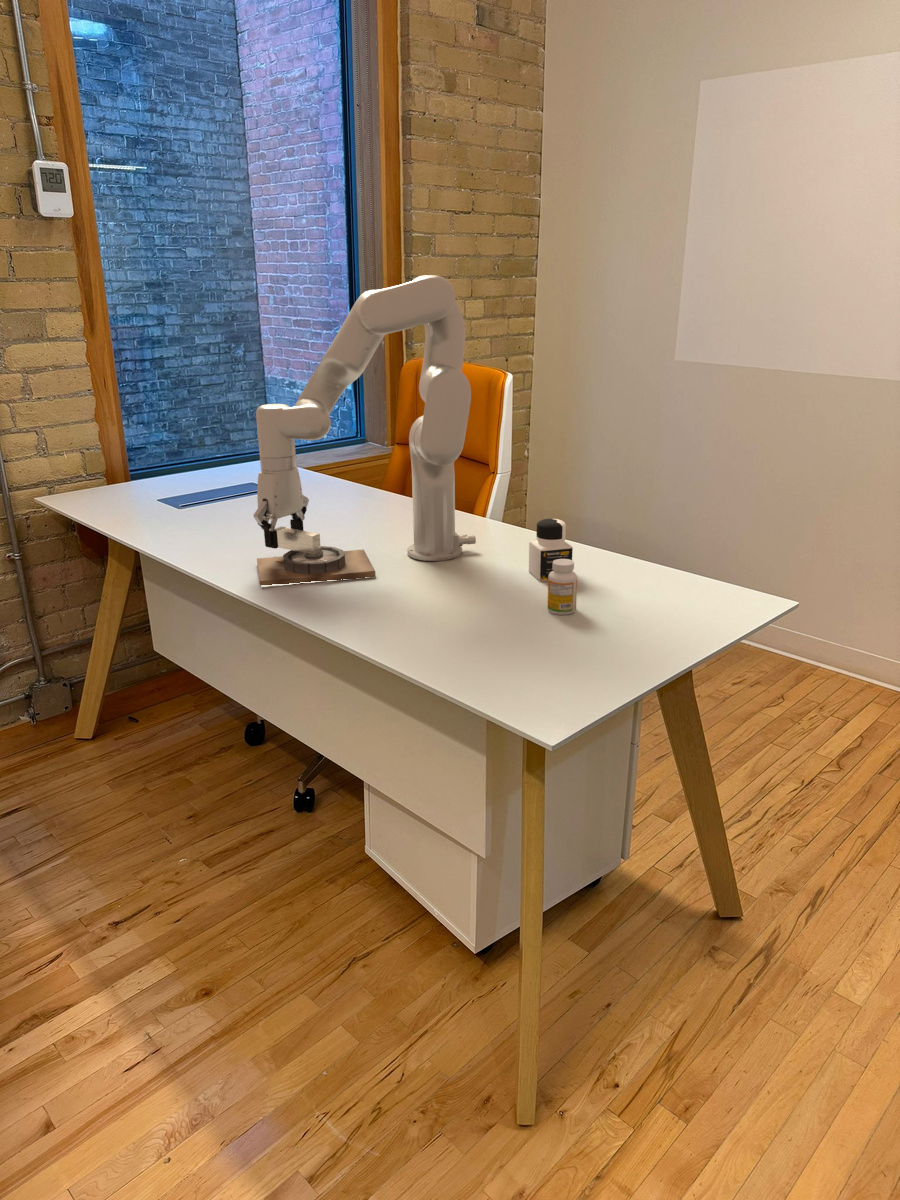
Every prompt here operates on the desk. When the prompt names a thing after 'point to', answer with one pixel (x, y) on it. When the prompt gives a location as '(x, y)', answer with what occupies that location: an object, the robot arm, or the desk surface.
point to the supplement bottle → (562, 587)
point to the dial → (303, 545)
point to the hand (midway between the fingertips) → (285, 542)
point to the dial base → (315, 568)
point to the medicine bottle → (548, 548)
